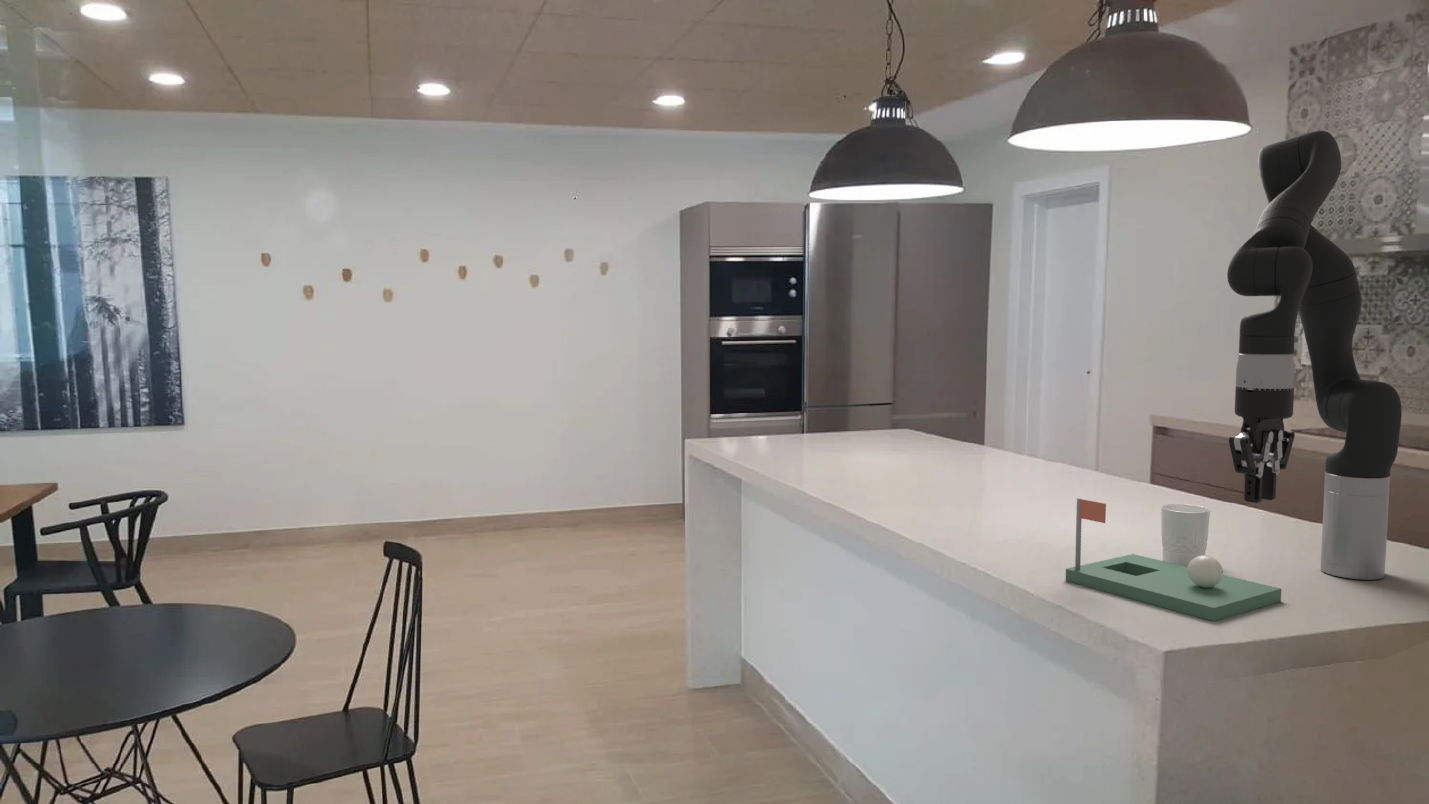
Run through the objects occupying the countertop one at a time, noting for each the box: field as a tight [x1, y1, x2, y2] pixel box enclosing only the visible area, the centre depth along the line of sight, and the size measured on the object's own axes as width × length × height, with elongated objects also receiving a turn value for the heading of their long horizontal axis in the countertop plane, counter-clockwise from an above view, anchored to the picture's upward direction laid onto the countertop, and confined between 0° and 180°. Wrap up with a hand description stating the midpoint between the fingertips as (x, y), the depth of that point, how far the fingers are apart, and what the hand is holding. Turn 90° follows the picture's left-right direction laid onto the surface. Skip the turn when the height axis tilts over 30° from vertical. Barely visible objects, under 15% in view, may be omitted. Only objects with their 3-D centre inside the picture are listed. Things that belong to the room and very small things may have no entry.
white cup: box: [1160, 503, 1211, 567], centre depth 174 cm, size 8×8×10 cm
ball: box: [1187, 554, 1224, 588], centre depth 152 cm, size 5×5×5 cm
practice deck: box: [1065, 498, 1282, 622], centre depth 157 cm, size 18×26×14 cm
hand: (1259, 500), depth 144 cm, fingers open, 3 cm apart
